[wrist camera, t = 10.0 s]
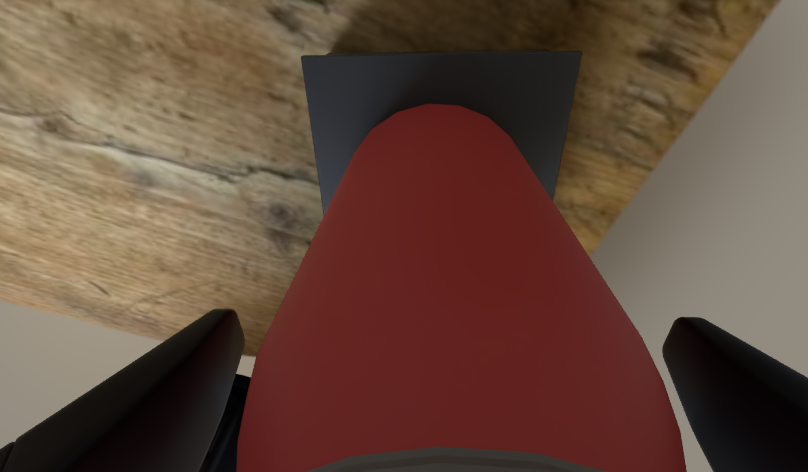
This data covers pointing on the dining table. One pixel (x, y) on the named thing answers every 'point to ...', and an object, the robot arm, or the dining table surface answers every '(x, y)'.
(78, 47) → the dining table surface
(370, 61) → the block
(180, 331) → the robot arm
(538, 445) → the beer can
